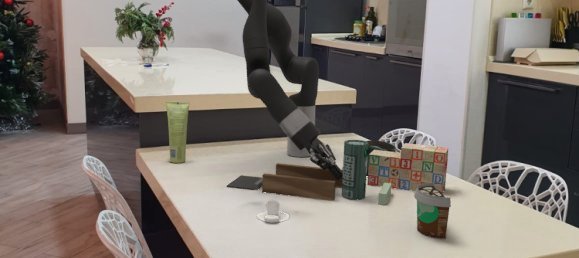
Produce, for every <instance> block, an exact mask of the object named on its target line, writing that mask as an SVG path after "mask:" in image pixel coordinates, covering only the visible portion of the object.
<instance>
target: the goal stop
mask: <svg viewBox="0 0 579 258" xmlns="http://www.w3.org/2000/svg"><path fill="white" fill-rule="evenodd" d="M391 184H392V183H384V184H383V186H382V187H380V190H378V191H379V192H378V196H377V204H378V205H382V206H386V205H387V203H388V201H389V199H390V196H391V194H392V188H391Z"/></svg>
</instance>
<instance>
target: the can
mask: <svg viewBox="0 0 579 258" xmlns="http://www.w3.org/2000/svg"><path fill="white" fill-rule="evenodd" d="M366 141H367V140H362V139H348V140H347V139H346V140H344V141H343V160H342V164H343V165H342V167H343V178H342V188H341V197H342V198H344V199H346V200H351V201H360V200H364V199H365V198H366V188H367V179H366V175H367V159H368V142H366Z"/></svg>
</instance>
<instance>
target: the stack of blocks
mask: <svg viewBox="0 0 579 258" xmlns="http://www.w3.org/2000/svg"><path fill="white" fill-rule="evenodd" d="M448 156H449V148H448V147H440V146H437V145H428V144H427V145H425V144H417V143H416V144H415V143H407V142H406V143H404V144H403V145H402V146H401V147H400V152H397V151H396V152H389V151H380V150H373V151H372V152H371V153H370V154H369V168H368V177H367V178H368V179H367V185H368V186H375V187H376V186H377V187H380V186H383V184H384V183H392V184H391V189H394V188H396V190H402V189H404V190H403V191H410V190H412V192H415V191H416V189H417V187H418V186H419V185H420V184H424V183H432V182H434V187H435V188H436V189H437V190H439V191H441V192H442V194H443V195H444V192H443V191H445V190H446V180H447V170H448V161H449V159H448V158H449V157H448Z"/></svg>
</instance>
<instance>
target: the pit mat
mask: <svg viewBox="0 0 579 258" xmlns="http://www.w3.org/2000/svg"><path fill="white" fill-rule="evenodd" d="M225 186H226V188H232V189H242V190H248V191H249V190H250V191H254V190H255V191H259V190H260V189H262V177H260V176H259V177H258V176H249V175H243V174H242V175H241V174H240V175H239V176H237V178H235V179H233V180H232V181H231V182H229V183H228V184H227V185H225ZM258 189H259V190H258Z"/></svg>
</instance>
